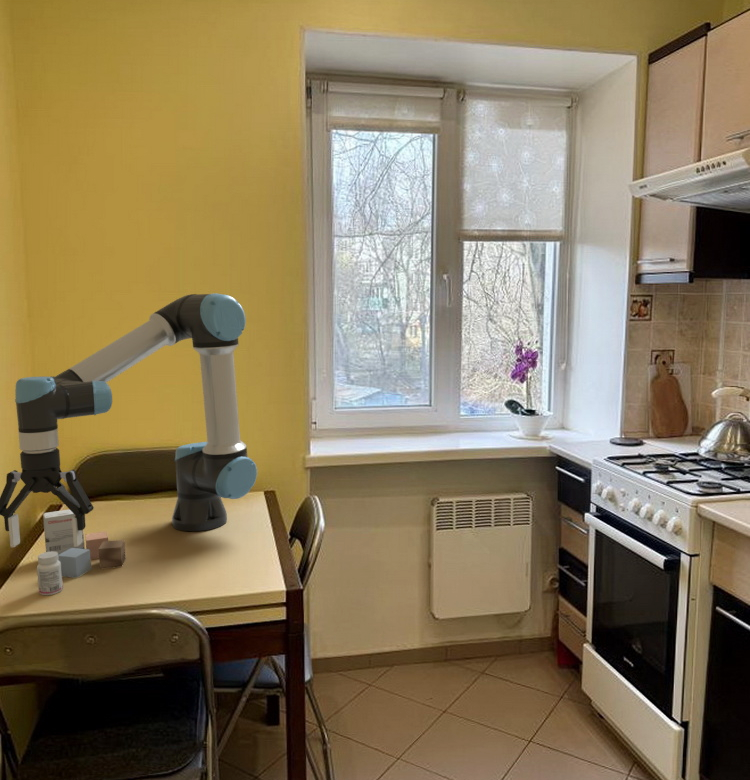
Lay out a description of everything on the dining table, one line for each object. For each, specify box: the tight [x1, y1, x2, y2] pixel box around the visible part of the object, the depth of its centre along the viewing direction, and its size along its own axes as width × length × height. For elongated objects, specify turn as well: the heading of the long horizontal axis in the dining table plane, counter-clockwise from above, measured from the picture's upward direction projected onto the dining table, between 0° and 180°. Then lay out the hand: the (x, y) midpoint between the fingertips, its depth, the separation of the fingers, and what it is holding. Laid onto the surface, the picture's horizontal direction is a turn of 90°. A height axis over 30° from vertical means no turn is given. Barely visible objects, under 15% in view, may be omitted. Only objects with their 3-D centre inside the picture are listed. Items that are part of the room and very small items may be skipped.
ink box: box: [42, 508, 86, 555], centre depth 165 cm, size 9×5×12 cm, turn 118°
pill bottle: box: [36, 551, 64, 596], centre depth 146 cm, size 5×5×8 cm
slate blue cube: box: [58, 548, 92, 579], centre depth 156 cm, size 5×5×5 cm
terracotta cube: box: [84, 530, 109, 560], centre depth 167 cm, size 5×5×5 cm
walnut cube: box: [98, 539, 127, 570], centre depth 162 cm, size 5×5×5 cm
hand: (46, 544), depth 145 cm, fingers open, 13 cm apart
